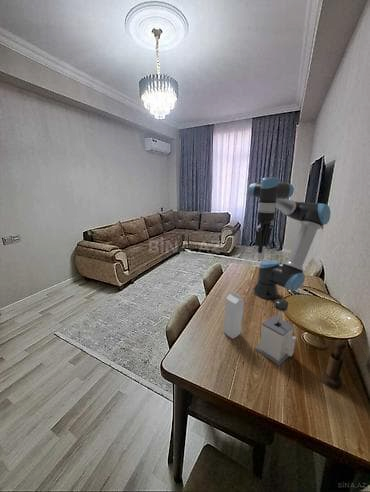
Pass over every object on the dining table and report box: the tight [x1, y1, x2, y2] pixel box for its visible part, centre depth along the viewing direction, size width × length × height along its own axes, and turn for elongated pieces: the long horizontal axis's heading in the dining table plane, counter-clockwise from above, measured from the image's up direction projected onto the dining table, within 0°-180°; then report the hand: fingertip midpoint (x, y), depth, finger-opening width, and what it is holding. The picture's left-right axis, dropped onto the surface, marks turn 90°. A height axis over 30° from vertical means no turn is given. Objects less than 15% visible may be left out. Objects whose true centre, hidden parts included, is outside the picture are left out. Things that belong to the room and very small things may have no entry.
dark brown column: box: [320, 338, 346, 390], centre depth 76 cm, size 7×6×18 cm
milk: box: [222, 290, 245, 340], centre depth 100 cm, size 6×6×22 cm
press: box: [255, 315, 297, 367], centre depth 89 cm, size 11×13×14 cm
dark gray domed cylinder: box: [273, 298, 289, 327], centre depth 87 cm, size 6×6×14 cm
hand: (260, 258), depth 106 cm, fingers closed
